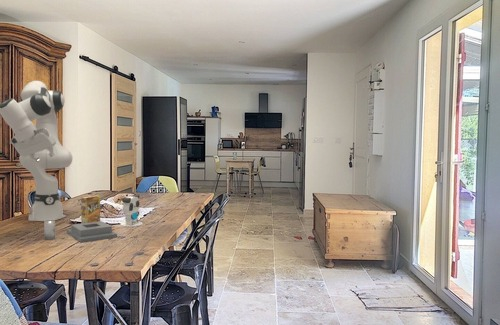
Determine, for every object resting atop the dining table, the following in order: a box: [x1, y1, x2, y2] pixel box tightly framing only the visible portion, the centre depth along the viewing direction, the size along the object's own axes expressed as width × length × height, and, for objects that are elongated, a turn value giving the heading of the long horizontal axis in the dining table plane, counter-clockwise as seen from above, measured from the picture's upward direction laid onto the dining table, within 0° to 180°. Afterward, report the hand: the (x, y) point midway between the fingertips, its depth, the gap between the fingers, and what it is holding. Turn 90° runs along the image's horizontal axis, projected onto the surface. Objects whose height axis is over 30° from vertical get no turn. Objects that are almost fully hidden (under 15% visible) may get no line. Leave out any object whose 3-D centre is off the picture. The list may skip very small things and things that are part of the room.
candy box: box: [80, 195, 101, 224], centre depth 203 cm, size 9×4×15 cm, turn 150°
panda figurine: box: [120, 194, 143, 228], centre depth 207 cm, size 12×11×15 cm
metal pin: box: [43, 220, 56, 241], centre depth 176 cm, size 4×4×8 cm
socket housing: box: [66, 220, 118, 244], centre depth 184 cm, size 22×16×4 cm
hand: (45, 158), depth 182 cm, fingers open, 8 cm apart
